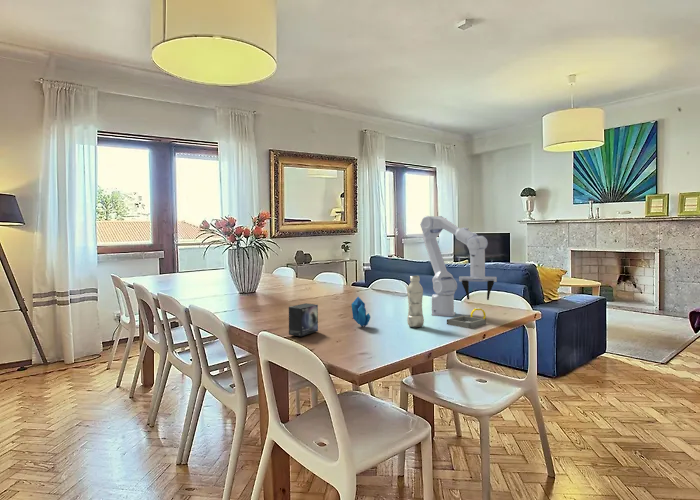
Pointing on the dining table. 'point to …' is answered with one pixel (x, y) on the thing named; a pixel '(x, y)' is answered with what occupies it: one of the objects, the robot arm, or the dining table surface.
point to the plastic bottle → (415, 303)
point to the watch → (478, 309)
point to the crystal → (360, 312)
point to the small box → (303, 319)
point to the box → (459, 322)
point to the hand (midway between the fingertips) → (478, 299)
